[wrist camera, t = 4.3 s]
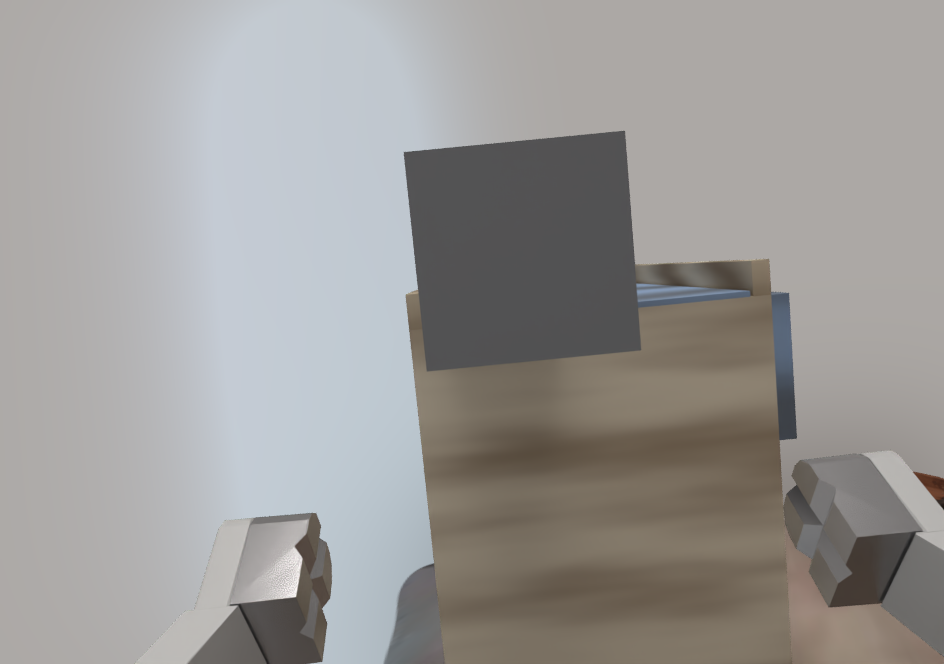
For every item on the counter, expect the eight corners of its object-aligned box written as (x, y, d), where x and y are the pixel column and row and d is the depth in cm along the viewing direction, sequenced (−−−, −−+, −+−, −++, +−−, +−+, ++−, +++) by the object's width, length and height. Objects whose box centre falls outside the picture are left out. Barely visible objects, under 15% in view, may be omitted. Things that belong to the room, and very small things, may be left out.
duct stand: (826, 991, 25) (787, 257, 22) (483, 1026, 25) (405, 294, 22) (673, 688, 43) (642, 263, 40) (474, 709, 43) (431, 284, 40)
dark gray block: (450, 304, 38) (443, 233, 38) (520, 297, 38) (513, 227, 38) (426, 371, 12) (404, 152, 12) (641, 350, 12) (625, 131, 12)
